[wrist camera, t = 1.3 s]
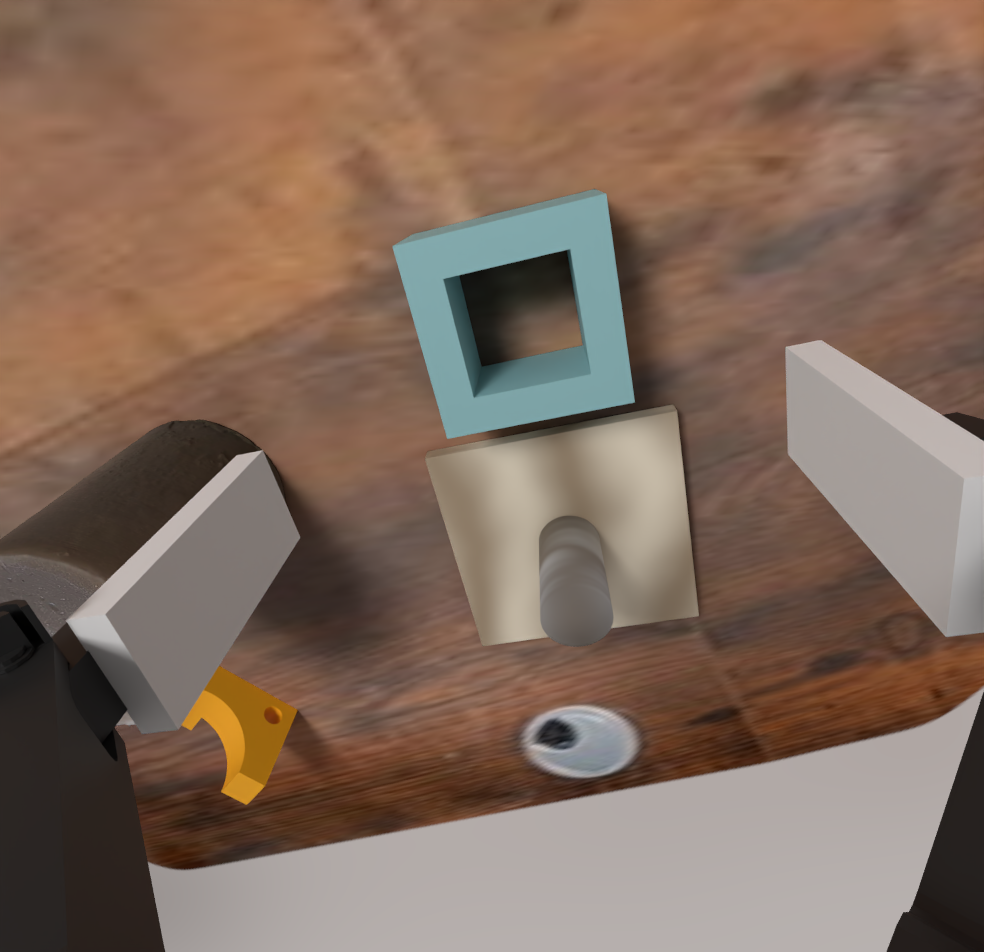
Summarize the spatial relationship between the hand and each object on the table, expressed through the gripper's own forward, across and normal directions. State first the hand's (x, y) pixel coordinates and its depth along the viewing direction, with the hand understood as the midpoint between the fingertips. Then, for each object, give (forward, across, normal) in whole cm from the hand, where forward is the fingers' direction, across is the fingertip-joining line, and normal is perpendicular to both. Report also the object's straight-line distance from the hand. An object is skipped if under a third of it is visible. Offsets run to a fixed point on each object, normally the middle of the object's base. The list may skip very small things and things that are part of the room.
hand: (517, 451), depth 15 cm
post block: (+18, 0, -14) cm, 23 cm away
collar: (+18, 0, 0) cm, 18 cm away
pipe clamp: (+18, -28, -22) cm, 40 cm away
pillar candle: (+18, -21, -7) cm, 29 cm away
